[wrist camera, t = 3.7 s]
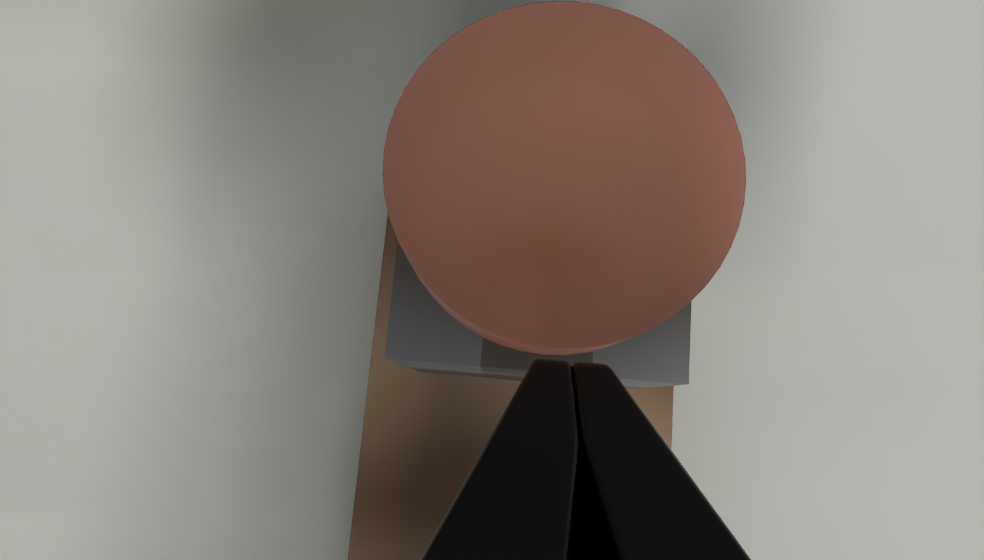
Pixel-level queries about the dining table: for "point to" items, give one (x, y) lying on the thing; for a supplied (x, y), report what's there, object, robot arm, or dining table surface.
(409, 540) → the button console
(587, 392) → the robot arm
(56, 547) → the dining table surface
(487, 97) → the red button
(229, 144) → the dining table surface
